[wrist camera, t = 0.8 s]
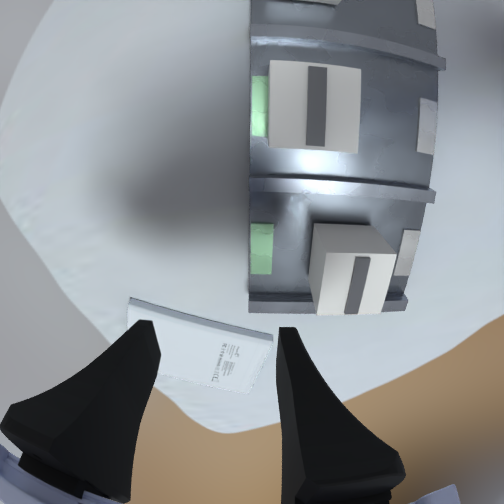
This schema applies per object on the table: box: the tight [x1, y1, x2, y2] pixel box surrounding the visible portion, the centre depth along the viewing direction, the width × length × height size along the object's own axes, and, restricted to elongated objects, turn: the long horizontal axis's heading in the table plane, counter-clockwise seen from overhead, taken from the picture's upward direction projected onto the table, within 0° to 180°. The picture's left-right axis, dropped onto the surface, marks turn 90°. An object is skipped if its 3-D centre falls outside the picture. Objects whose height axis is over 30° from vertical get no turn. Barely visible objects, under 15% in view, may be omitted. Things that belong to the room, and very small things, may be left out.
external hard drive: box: [127, 298, 273, 394], centre depth 25 cm, size 2×8×12 cm
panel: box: [249, 0, 446, 314], centre depth 15 cm, size 12×27×2 cm, turn 0°
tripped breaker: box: [308, 223, 397, 315], centre depth 17 cm, size 4×4×4 cm
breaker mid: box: [268, 60, 361, 154], centre depth 13 cm, size 4×4×4 cm
